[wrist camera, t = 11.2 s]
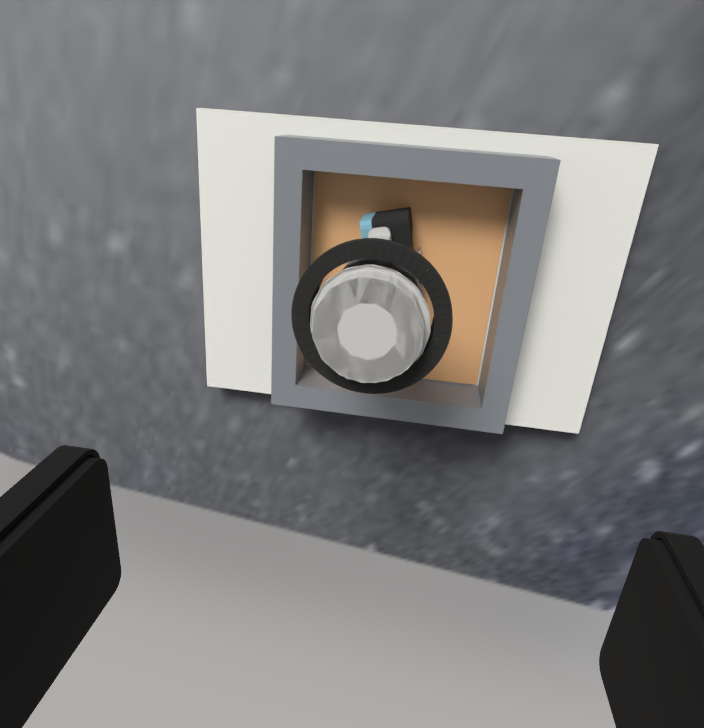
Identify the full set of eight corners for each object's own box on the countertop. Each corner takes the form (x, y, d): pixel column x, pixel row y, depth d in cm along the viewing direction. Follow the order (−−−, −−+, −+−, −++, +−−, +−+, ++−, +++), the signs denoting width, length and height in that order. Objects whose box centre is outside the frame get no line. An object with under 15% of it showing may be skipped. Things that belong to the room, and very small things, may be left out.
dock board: (646, 143, 25) (682, 147, 21) (572, 419, 30) (591, 460, 27) (208, 108, 26) (172, 106, 23) (216, 374, 32) (189, 406, 28)
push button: (454, 332, 27) (463, 437, 18) (348, 342, 28) (308, 446, 19) (441, 193, 25) (445, 235, 16) (326, 210, 26) (268, 258, 17)
